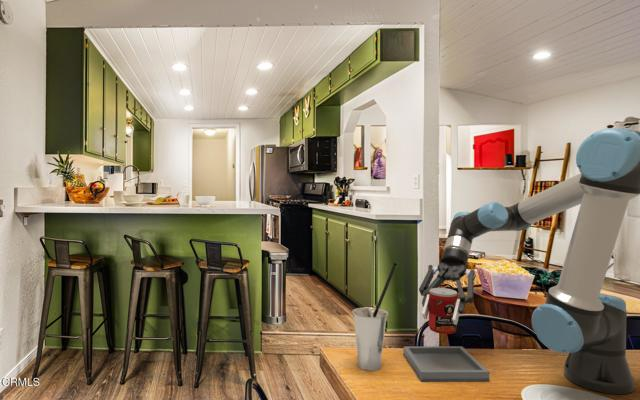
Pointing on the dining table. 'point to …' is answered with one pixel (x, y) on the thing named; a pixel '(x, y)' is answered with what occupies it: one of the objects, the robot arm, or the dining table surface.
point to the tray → (445, 364)
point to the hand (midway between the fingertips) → (439, 319)
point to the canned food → (442, 310)
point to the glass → (371, 332)
